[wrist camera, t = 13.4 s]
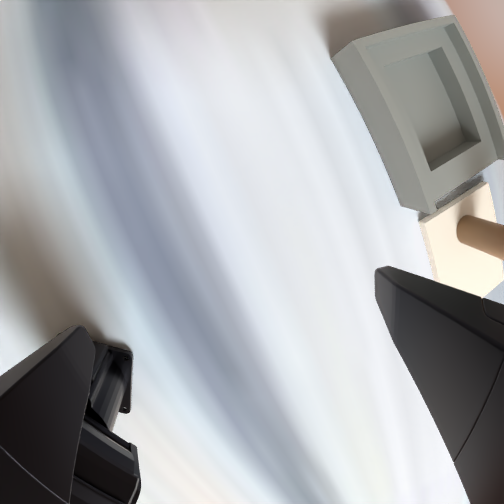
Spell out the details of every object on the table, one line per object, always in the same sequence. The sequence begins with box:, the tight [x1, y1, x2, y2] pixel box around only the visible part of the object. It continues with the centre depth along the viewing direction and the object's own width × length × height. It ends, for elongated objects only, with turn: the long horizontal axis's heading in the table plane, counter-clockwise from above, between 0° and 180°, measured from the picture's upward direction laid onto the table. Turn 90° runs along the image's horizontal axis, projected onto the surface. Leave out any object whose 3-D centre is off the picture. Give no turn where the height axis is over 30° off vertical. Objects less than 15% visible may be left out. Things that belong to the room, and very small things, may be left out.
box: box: [331, 15, 504, 215], centre depth 18 cm, size 12×10×4 cm
